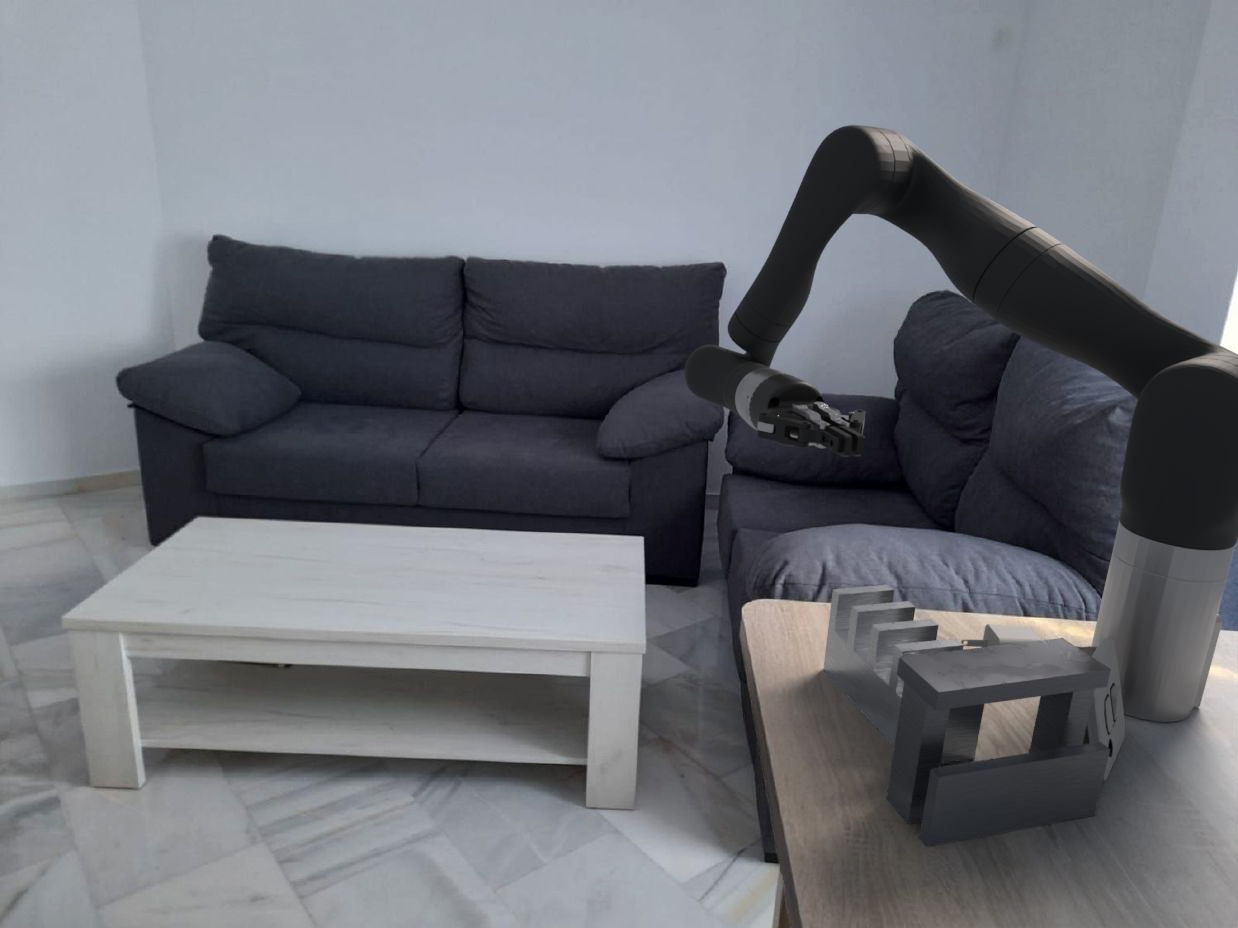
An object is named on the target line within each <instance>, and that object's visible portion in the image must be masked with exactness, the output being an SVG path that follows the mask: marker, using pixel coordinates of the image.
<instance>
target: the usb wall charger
mask: <svg viewBox="0 0 1238 928" xmlns="http://www.w3.org/2000/svg"><path fill="white" fill-rule="evenodd" d="M1040 640H1043V639H1042V637H1040V635H1039V634H1038V633H1037V632H1036V631H1035V629H1034V628H1033V627H1032V626H1030V625H1029V626H1028V625H1010V624H988V623H987V624H985V626H984V631H983V637H982V639H977V638H975V639H974V638H973V639H970V638H969V639H968V638H966V639H964V638H963V639H961V641H960V642H961V643H962V644H963V645H964V647H974V648H981V647H989V646H998V645H1006V644H1015V643H1023V642H1032V641H1040ZM965 642H966V643H965Z"/></svg>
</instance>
